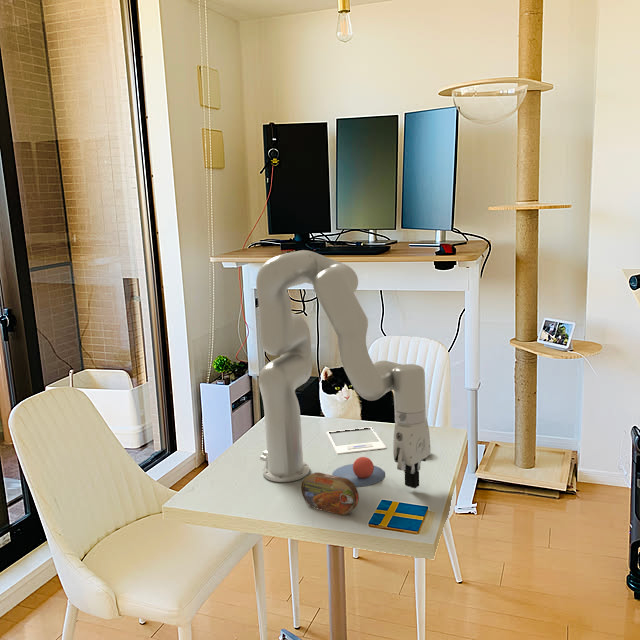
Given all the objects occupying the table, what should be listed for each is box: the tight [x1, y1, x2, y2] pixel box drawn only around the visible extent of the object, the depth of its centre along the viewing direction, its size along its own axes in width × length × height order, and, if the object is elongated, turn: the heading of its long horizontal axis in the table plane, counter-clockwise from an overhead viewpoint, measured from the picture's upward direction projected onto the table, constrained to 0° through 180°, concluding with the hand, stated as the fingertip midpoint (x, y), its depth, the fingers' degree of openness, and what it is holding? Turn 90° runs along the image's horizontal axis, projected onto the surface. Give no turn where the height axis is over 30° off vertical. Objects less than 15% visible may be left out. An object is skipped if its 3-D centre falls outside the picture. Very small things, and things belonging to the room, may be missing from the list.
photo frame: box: [325, 426, 387, 455], centre depth 197 cm, size 15×1×18 cm
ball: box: [352, 456, 375, 478], centre depth 171 cm, size 6×6×6 cm
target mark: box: [331, 463, 385, 488], centre depth 173 cm, size 14×14×1 cm
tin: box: [300, 472, 360, 516], centre depth 154 cm, size 15×3×8 cm, turn 56°
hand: (412, 485), depth 161 cm, fingers closed
